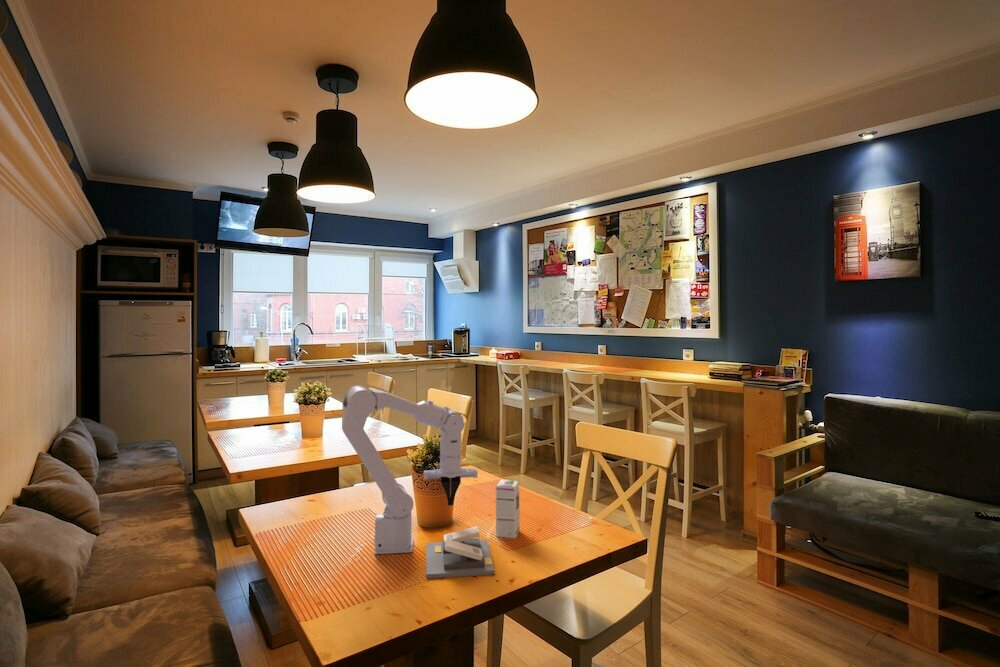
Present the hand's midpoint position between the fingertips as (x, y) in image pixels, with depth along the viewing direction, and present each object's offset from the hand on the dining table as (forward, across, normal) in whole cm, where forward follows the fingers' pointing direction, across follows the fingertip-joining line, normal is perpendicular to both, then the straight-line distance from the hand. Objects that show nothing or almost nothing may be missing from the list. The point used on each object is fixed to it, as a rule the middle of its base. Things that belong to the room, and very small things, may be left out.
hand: (450, 504), depth 143 cm
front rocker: (+5, +2, -17) cm, 18 cm away
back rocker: (+5, +2, -9) cm, 11 cm away
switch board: (+9, +2, -13) cm, 16 cm away
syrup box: (+10, +16, +1) cm, 19 cm away
